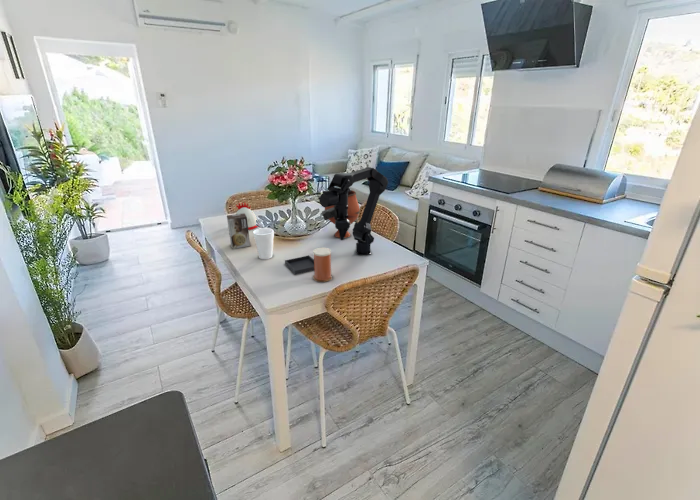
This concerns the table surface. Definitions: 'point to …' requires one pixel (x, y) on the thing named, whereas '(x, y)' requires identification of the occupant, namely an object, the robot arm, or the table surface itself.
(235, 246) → the coffee box
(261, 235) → the foam cup
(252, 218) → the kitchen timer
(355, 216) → the terracotta vase
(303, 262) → the tray
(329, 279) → the coaster
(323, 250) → the canister
